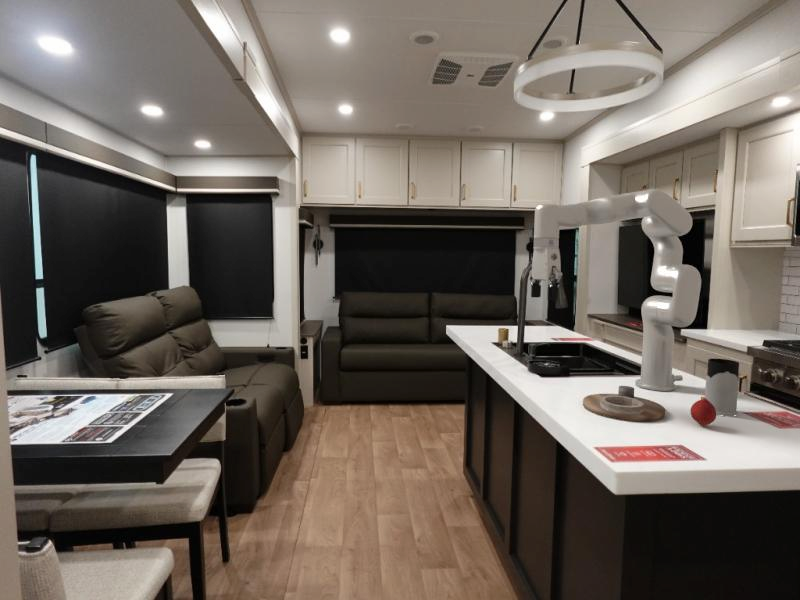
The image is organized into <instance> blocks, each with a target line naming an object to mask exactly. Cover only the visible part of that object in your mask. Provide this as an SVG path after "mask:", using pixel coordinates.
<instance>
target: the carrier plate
mask: <svg viewBox="0 0 800 600" xmlns="http://www.w3.org/2000/svg"><path fill="white" fill-rule="evenodd" d="M582 406H584V407H583V408H584V409H585V410H586V411H588V412H590V413H592V414H594V413H595V414H594V415H597V416H600V417H604V418H608V419H612V420H618V421H625V422H634V423H635V422H636V423H649V422H650V423H652V422H658V421H661V420H664V419H665V418H666V411H667V410H666V408H665V407H664V406H663V404H660V403H658V402H656V401H654V400H650V399H646V398H643V397H639V396H635V388H634V387H633V386H629V385H619V386H618V393H595V394H589V395H586V396H584V398H583V399H582Z"/></svg>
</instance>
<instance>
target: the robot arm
mask: <svg viewBox="0 0 800 600" xmlns="http://www.w3.org/2000/svg"><path fill="white" fill-rule="evenodd" d="M638 218H642V220H641V228H642V231H643V232H644V234H645V236H647V237H648V239H650V241H651V243H652V244H653V248H654V250H653V251H654V254H653V260H652V261H653V262H652V267H651V269H652V270H651V276H650V285H651V287H652V288H653V289H654V290H655V291H658V292H662V293H670V294H671V293H672V296H669V295H667V296H666V295H652V296H649V297H647V298H646V299H645V300H644V301H643V302H642V304H641V308H640V309H641V310H640V311H641V318H642V330H643V331H642V334H643V335H642V349H641V350H642V351H641V365H640V378H639V379H636V380H635V383H634V384H635V385H636V386H637V387H639V388H642V389H646V390H651V391H657V392H672V391H675V390H677V385H676V384H675V382H681V381H683V379H684V378H683V376H682V375H680V374H679V375H676V374H673V362H674V349H675V347H674V346H675V333H674V330H673V327H676V328H686V327H688V326H691V324H692V323H693V322H694V320H695V319H696V316H697V312H698V308H699V301H700V293H701V288H702V278H701V273H700V272H699V270H698V269H697V267H694V266H693V265H690V264H683V255H684V248H683V245H682V244H683V243H682V241H681V240H680V239H679V237H681V236H682V237H683V235H686V234H688V233H689V232H690V231H691V229H692V227H693V217H692V215H691V214H690V212H689V211H688V210H687V209H686V208H685V207H684V206H682V205H681V204H680V203H679V202H678V201H677V200H675V199H674V198H673V197H672V196H671V195H669V194H668V193H666V192H665V191H663V190H661V189H658V188H650V189H645V190H640V191H633V192H626V193H622V194H621V193H620V194H615V195H610V196H609V195H608V196H604V197H598V198H595V199H590V200H587V201H583V202H577V203H571V204H563V205H562V204H561V205H557V204H556V203H555V204H554V203H546V204H545V203H544V204H538V205H537V206H536V207H535V209H534V223H533V224H534V226H533V227H534V229H533V254H532V262H531V269H530V270H529V271H528V273H529V280H530V285H531V286H530V287H531V288H530V289H531V291H530V296H531V298H541V295H542V294H541V292H542V284H541V282H543V281H546V282H547V283H548V287H547V298H546V299H547V300H548V301H558V297H559V296H558V295H559V287H560V284H561V281H562V277H563V272H561V271H562V270H561V265H562V264H561V252H560V248H559V242H560V241H559V239H560V230H571V229H576V228H577V229H578V228H580V227H582V226H588V225H592V226H593V225H606V224H611V223H617V222H621V221H627V220H633V219H638Z"/></svg>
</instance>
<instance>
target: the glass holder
mask: <svg viewBox="0 0 800 600" xmlns="http://www.w3.org/2000/svg"><path fill="white" fill-rule="evenodd" d="M739 372H740V362H739V361H736V360H731V359H726V358H709V359H708V361H707V373H706V376H705V378H706V379H705V392H704V397H705V398H706V399H707V400H708V401H709V402H710V403H712V404H713V406H714V407H715V410H716V416H718V415H723V416H722V417H725V416H734V415H737V414H738V415H739V412H738V410H737V405H738V394H739V381H740V380H739V379H740V377H739Z"/></svg>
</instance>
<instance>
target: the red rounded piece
mask: <svg viewBox="0 0 800 600" xmlns="http://www.w3.org/2000/svg"><path fill="white" fill-rule="evenodd" d="M690 415H691V417H692V419H693V420H694V421H695V422H697V424H698V425H699V426H700V427H706V426H708V425H710V424H712V423H713V422H715V420H716V418H717V415H716V410H715V407H714V406H713V404H712V403H710V402H709V401H708V400H707V399H706V398H705V396H701V397H700V399H699V400H697V401H695V402H694V403H693V404H692V406H691V408H690Z"/></svg>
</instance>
